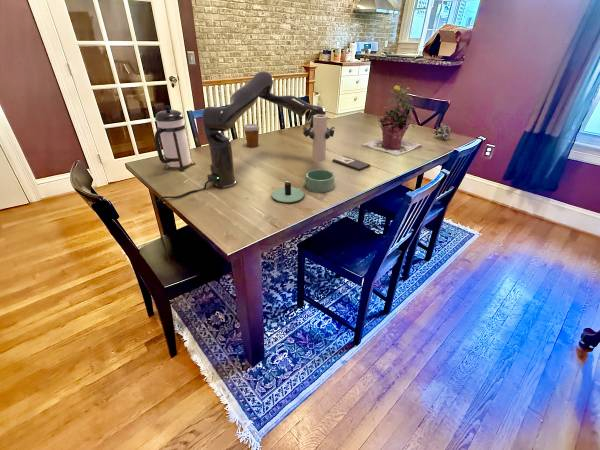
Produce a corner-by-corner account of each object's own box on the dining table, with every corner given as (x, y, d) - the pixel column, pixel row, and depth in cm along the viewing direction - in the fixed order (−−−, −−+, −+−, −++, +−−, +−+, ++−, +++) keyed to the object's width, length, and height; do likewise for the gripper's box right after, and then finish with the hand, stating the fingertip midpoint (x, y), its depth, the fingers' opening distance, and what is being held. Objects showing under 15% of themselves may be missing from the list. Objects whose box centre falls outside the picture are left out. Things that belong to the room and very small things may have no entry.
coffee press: (161, 164, 160) (146, 103, 144) (193, 159, 165) (182, 101, 150) (163, 175, 147) (146, 110, 131) (197, 171, 152) (185, 107, 136)
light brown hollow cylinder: (319, 162, 128) (321, 118, 118) (309, 159, 131) (310, 116, 121) (327, 159, 131) (329, 116, 121) (317, 156, 134) (319, 113, 124)
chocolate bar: (359, 168, 152) (332, 159, 163) (359, 170, 153) (332, 161, 164) (370, 164, 157) (343, 155, 169) (370, 166, 158) (343, 157, 169)
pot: (305, 192, 132) (305, 180, 129) (305, 180, 142) (305, 169, 140) (334, 192, 132) (335, 180, 129) (332, 180, 142) (333, 169, 139)
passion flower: (443, 148, 201) (446, 136, 190) (428, 142, 206) (430, 130, 195) (452, 135, 203) (456, 123, 192) (436, 130, 208) (439, 117, 197)
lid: (270, 203, 123) (269, 190, 120) (273, 189, 134) (272, 176, 131) (304, 203, 123) (304, 190, 120) (304, 189, 134) (304, 176, 131)
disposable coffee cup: (263, 145, 187) (262, 125, 181) (251, 149, 181) (250, 128, 175) (253, 142, 193) (252, 123, 186) (241, 145, 187) (239, 125, 180)
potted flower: (396, 155, 172) (408, 88, 153) (362, 145, 188) (369, 83, 169) (421, 146, 187) (435, 84, 168) (387, 137, 203) (396, 79, 184)
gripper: (333, 134, 139) (337, 146, 125) (301, 134, 139) (302, 145, 125) (334, 117, 135) (338, 127, 121) (301, 117, 135) (302, 127, 121)
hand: (319, 136), depth 123 cm, fingers closed on light brown hollow cylinder, 5 cm apart
